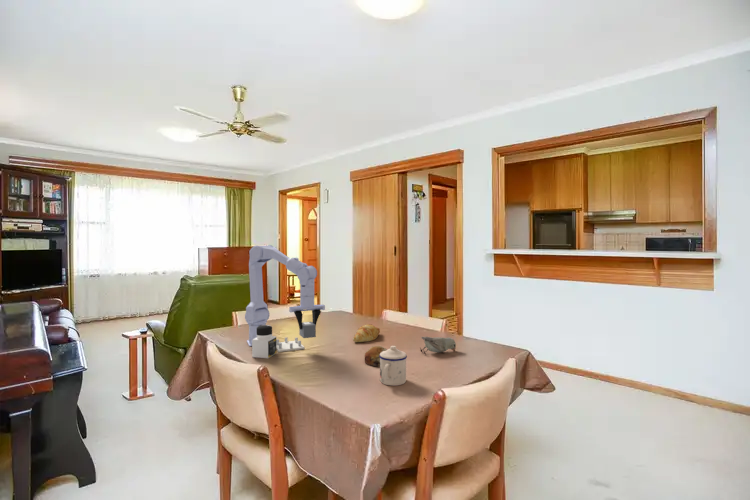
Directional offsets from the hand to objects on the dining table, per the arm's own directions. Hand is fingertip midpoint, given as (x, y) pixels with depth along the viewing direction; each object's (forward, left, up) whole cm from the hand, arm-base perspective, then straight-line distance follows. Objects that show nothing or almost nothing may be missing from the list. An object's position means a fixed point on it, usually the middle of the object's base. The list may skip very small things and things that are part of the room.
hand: (307, 328), depth 163 cm
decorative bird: (+23, +49, -10) cm, 55 cm away
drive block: (0, 0, -3) cm, 3 cm away
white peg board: (-10, -5, -10) cm, 15 cm away
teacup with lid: (+45, +16, -10) cm, 49 cm away
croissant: (-10, +31, -10) cm, 34 cm away
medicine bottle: (-2, -17, -10) cm, 20 cm away
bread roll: (+24, +21, -10) cm, 33 cm away
